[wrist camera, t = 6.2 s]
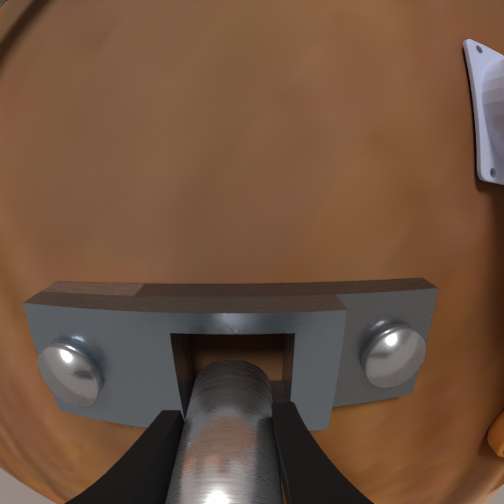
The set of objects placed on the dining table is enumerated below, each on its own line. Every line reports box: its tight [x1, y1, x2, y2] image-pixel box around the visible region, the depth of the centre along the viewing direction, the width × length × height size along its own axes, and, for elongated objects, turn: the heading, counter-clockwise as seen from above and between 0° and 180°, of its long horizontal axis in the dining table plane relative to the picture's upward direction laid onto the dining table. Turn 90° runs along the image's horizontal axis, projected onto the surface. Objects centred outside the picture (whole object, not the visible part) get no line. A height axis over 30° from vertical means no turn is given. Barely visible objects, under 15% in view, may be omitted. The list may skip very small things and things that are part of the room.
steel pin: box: [165, 359, 283, 504], centre depth 7 cm, size 3×3×7 cm
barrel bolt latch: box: [23, 278, 438, 431], centre depth 12 cm, size 18×6×4 cm, turn 91°
